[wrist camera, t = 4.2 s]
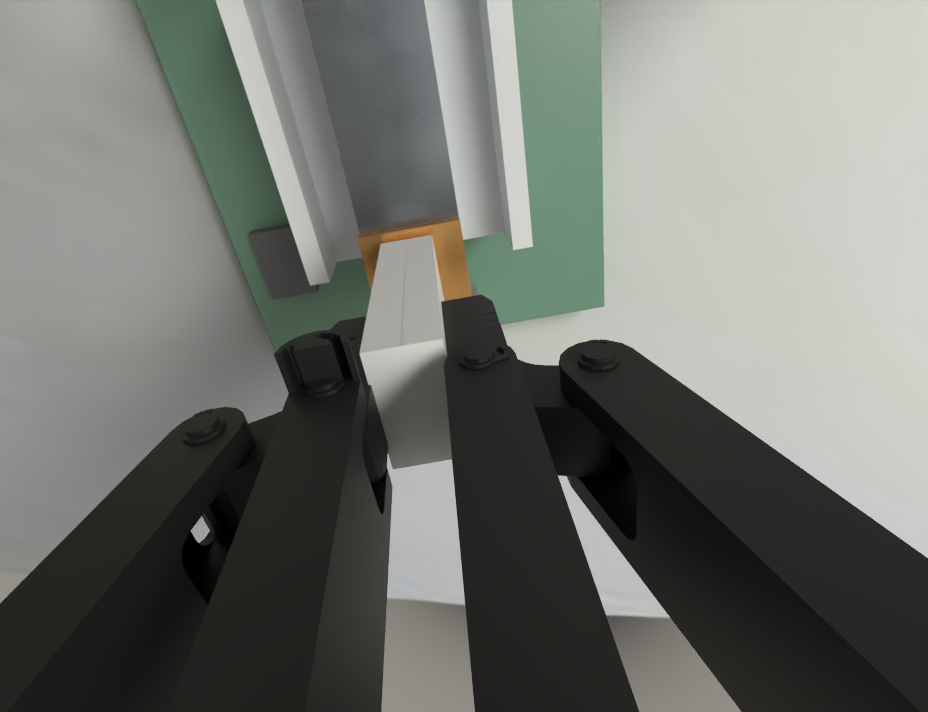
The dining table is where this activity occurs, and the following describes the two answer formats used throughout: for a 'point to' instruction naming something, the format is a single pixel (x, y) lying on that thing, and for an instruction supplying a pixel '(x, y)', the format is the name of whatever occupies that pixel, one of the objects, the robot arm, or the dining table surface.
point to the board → (488, 257)
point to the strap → (389, 128)
